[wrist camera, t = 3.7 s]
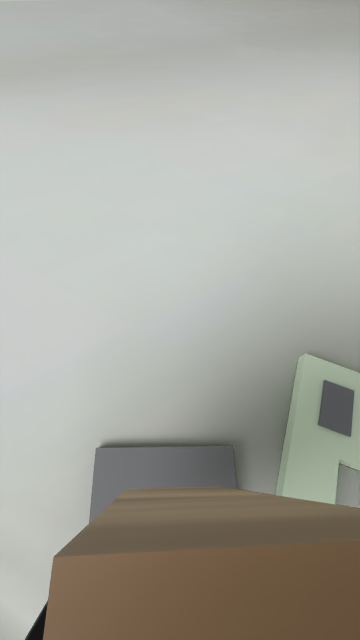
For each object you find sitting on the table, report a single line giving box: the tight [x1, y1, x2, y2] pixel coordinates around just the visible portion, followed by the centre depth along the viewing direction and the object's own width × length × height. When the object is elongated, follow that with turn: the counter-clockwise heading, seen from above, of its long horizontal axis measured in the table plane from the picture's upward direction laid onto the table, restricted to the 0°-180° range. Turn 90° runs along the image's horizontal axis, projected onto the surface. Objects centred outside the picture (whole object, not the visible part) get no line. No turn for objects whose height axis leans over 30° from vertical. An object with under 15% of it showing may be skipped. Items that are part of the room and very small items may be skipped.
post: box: [43, 486, 360, 640], centre depth 7 cm, size 4×4×12 cm
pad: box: [89, 446, 237, 523], centre depth 16 cm, size 8×8×1 cm
